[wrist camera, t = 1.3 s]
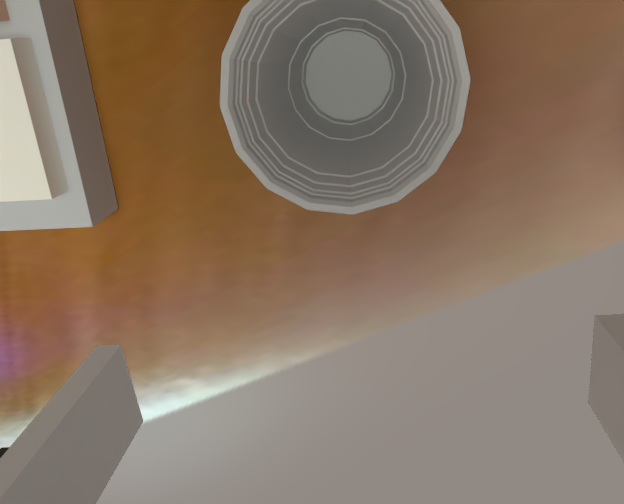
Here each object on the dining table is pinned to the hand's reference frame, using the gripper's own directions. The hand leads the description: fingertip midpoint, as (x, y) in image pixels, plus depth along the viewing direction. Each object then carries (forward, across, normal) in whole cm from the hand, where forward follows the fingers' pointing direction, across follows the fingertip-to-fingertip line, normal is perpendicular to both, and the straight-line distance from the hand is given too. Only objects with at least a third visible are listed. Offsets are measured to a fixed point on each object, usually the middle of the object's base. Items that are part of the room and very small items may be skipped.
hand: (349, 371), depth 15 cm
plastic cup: (+23, 0, +6) cm, 24 cm away
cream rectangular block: (+19, -21, +6) cm, 29 cm away
